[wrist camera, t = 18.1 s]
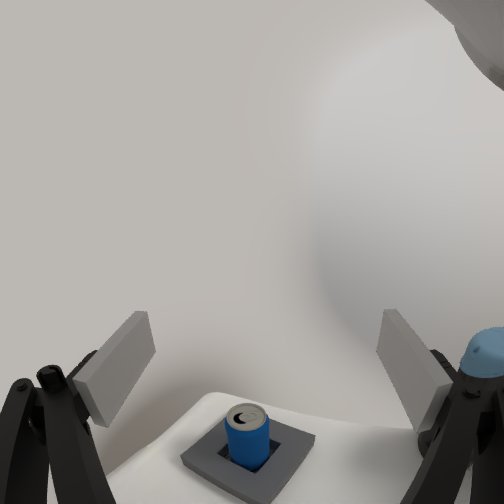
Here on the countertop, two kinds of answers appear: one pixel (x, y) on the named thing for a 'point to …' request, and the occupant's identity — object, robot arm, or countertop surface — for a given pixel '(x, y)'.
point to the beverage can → (248, 435)
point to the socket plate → (241, 480)
